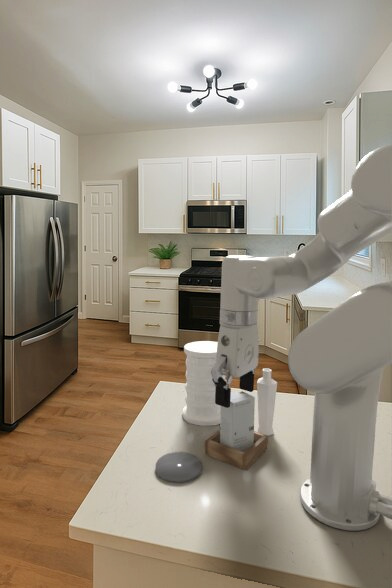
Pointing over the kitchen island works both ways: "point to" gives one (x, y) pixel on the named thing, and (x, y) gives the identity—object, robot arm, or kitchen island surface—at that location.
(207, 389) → the decorative container
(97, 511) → the kitchen island surface
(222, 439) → the skincare box
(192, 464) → the coaster
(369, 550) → the kitchen island surface
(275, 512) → the kitchen island surface
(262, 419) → the white faceted vase
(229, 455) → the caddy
